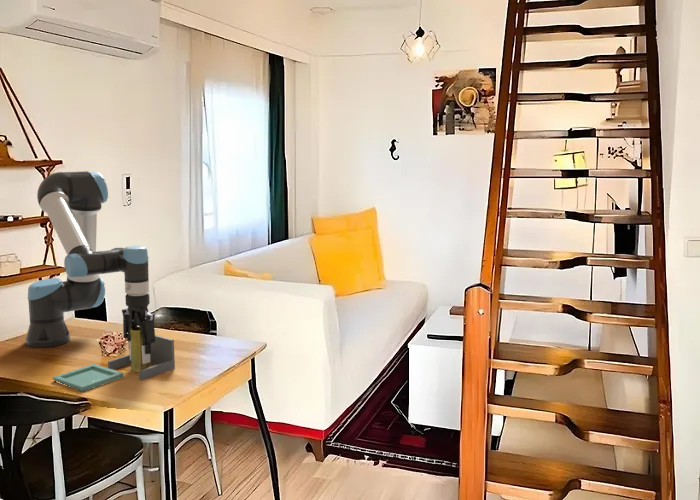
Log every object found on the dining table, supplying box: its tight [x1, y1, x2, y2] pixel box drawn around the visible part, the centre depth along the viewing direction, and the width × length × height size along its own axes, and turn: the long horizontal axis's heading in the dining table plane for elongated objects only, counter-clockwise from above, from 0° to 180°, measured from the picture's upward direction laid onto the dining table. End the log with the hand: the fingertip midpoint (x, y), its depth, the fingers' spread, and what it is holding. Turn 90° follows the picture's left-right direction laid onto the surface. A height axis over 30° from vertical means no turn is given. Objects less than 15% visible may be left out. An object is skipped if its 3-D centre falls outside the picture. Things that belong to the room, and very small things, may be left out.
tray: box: [52, 363, 124, 393], centre depth 209 cm, size 15×15×2 cm
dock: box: [107, 334, 176, 381], centre depth 219 cm, size 17×14×10 cm
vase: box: [130, 325, 151, 373], centre depth 218 cm, size 6×6×14 cm
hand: (140, 360), depth 219 cm, fingers closed on vase, 6 cm apart
